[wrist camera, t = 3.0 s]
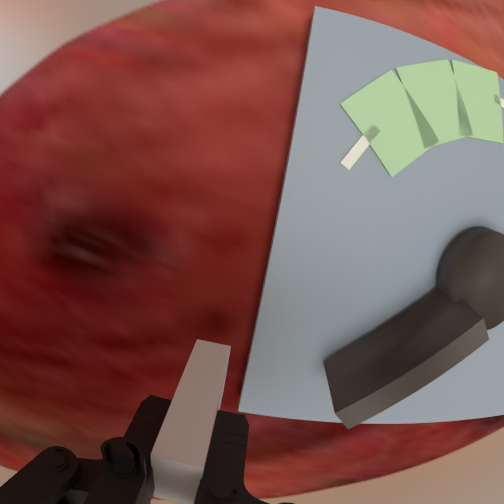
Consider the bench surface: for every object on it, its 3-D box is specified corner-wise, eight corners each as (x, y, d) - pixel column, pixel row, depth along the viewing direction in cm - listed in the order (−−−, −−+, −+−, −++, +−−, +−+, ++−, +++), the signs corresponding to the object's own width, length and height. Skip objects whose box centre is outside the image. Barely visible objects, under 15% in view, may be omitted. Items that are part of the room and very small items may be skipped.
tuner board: (240, 395, 19) (237, 413, 17) (311, 16, 13) (315, 2, 11) (497, 404, 19) (505, 415, 17) (581, 146, 13) (595, 147, 11)
